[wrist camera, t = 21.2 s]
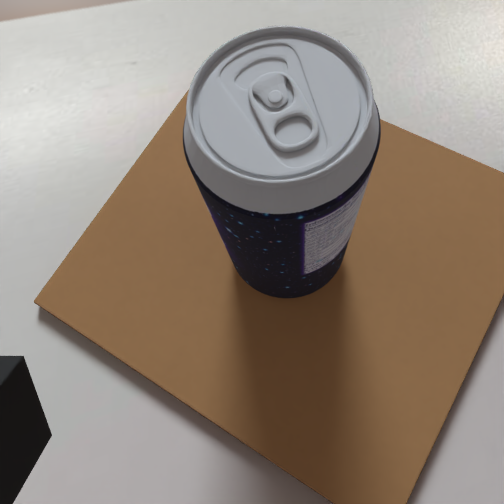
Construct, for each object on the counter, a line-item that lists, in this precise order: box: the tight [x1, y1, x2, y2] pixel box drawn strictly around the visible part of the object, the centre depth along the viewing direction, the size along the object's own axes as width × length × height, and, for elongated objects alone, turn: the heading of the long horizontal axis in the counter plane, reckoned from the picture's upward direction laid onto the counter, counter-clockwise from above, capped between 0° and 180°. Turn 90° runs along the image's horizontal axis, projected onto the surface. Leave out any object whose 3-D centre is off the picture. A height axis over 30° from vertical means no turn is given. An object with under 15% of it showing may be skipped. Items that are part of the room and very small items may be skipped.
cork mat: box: [34, 88, 504, 504], centre depth 24 cm, size 20×18×1 cm
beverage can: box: [183, 26, 381, 298], centre depth 18 cm, size 6×6×12 cm
